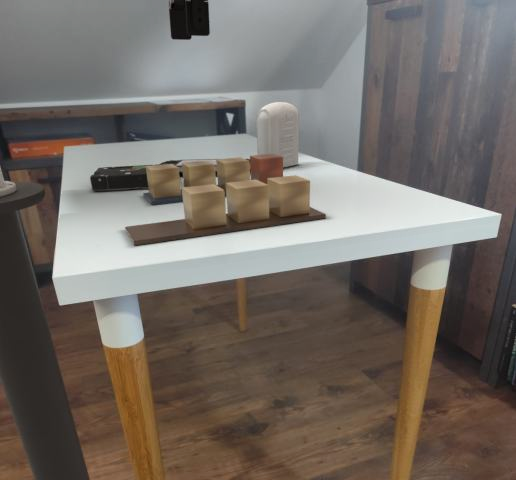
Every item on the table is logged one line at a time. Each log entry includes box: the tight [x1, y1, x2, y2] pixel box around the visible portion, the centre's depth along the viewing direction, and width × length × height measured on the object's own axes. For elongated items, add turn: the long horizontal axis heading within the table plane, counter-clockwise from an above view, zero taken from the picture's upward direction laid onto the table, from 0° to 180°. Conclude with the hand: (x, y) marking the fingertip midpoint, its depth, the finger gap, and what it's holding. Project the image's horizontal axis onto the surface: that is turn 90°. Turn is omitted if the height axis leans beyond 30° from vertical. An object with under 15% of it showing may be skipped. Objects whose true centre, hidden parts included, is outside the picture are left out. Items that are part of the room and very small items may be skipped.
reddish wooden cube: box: [249, 154, 284, 184], centre depth 85 cm, size 4×4×4 cm
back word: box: [142, 156, 251, 206], centre depth 83 cm, size 24×7×5 cm, turn 112°
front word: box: [124, 174, 327, 247], centre depth 65 cm, size 26×7×5 cm, turn 112°
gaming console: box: [159, 158, 251, 177], centre depth 100 cm, size 19×9×2 cm, turn 84°
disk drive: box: [89, 163, 175, 192], centre depth 92 cm, size 10×3×15 cm
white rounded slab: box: [256, 101, 300, 168], centre depth 101 cm, size 10×4×12 cm, turn 139°
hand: (189, 37), depth 74 cm, fingers open, 9 cm apart
